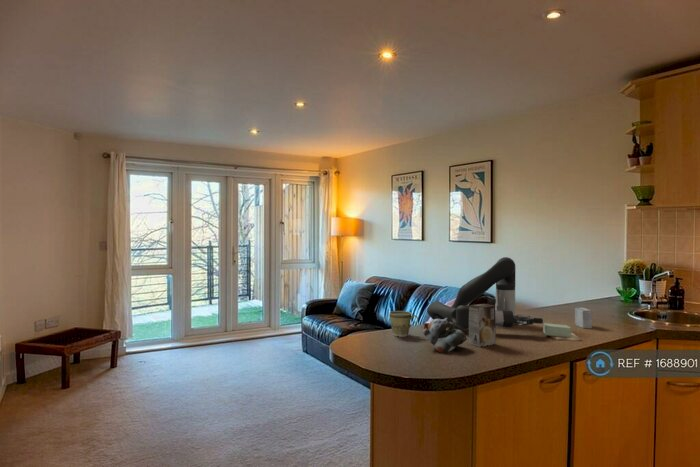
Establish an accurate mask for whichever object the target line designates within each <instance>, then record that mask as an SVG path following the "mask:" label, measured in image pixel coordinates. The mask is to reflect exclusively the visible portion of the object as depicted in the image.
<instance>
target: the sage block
mask: <svg viewBox="0 0 700 467" xmlns="http://www.w3.org/2000/svg"><path fill="white" fill-rule="evenodd" d="M542 324H543V325H542V333H543V334H545V335H546V336H549V335H552V336H562V337H571V333H572V327H570V326H569V325H568V324H567V325H566V324H560V323H559V324H558V323H556V324H555V323H549V322H547V323H546V322H543V323H542Z"/></svg>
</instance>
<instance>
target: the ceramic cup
mask: <svg viewBox="0 0 700 467" xmlns="http://www.w3.org/2000/svg"><path fill="white" fill-rule="evenodd" d="M414 317H415V318H416V321H414V322H413V323H411V320H412V319H413V318H414ZM418 320H419V317H418V316H417V315H414V314H412V312H411V311H406V310H393V311H389V321H390V325H391V332H392V335H393V336H394V337H397V336H399V338H404V337H408V336H409V331H410V328H411V327H412V326H413V325H414V324H416V323H417V322H418Z"/></svg>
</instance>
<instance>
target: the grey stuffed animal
mask: <svg viewBox="0 0 700 467" xmlns="http://www.w3.org/2000/svg"><path fill="white" fill-rule="evenodd" d="M455 326H456V325H455V324H454V323H453V322H450V321H449V319H448V318H445V319H444V320H443V319H441V318H440V317H438V316H437V317H436V318H435V319H434V320H433V319H432V320H431V321H430V322H428V323H427V322H425V323H423V330H422V333H423V336H424V338H426V339H427V340H428V341H429V343H430V344H432V346H434V348H435V350H436V351H437V352H439V353H441V352H444V354H447V353H448V352H451V351H453V350H454V349H455V348H457V347H458V346H460V345H462V344H463V343H466V341H467V340H468V338H467V336H466V334H465V332H463V331H462V330H461V329H456V327H455Z"/></svg>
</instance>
